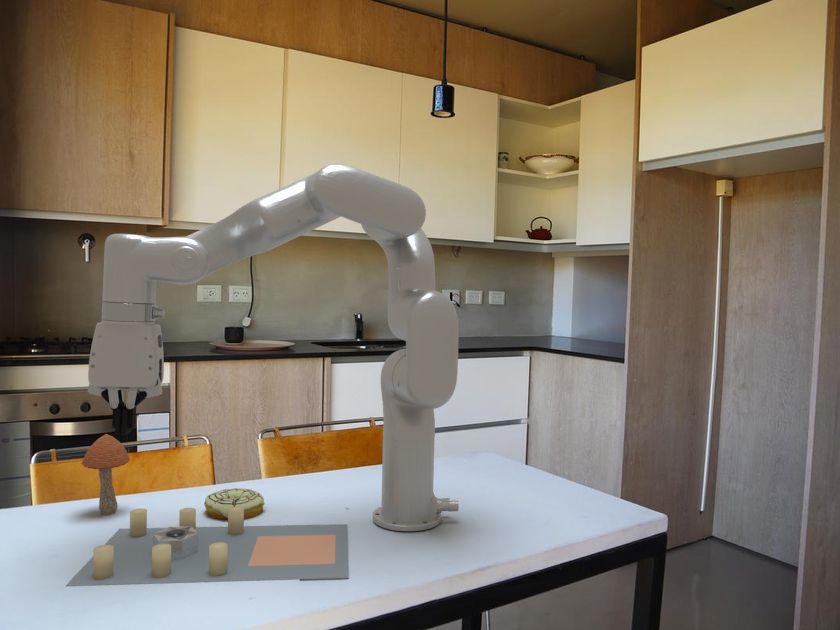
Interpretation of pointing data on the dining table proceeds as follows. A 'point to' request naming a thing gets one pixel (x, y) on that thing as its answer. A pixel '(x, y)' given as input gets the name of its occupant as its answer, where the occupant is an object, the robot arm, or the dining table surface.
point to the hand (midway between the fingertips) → (123, 432)
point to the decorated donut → (234, 502)
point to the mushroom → (106, 468)
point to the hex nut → (178, 541)
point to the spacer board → (199, 562)
